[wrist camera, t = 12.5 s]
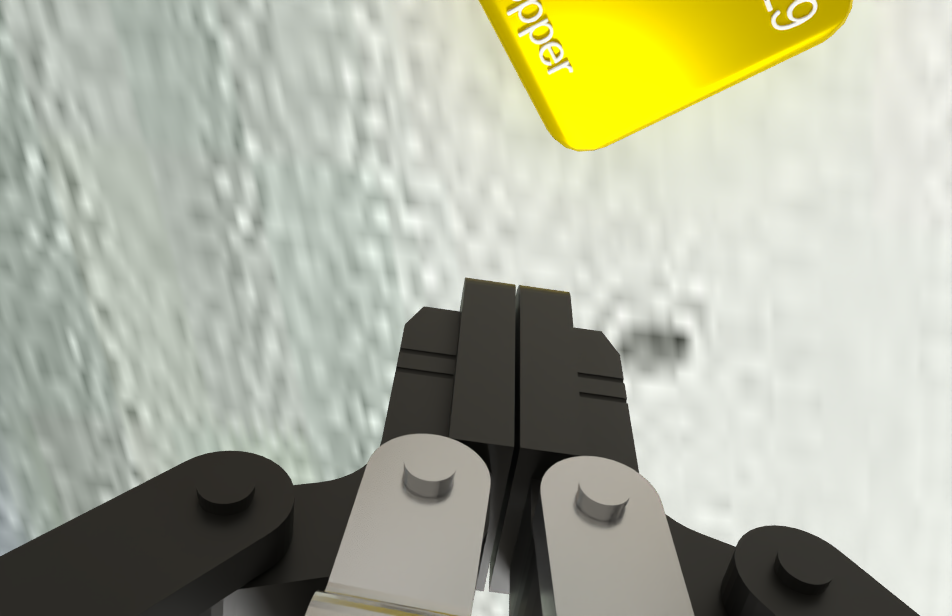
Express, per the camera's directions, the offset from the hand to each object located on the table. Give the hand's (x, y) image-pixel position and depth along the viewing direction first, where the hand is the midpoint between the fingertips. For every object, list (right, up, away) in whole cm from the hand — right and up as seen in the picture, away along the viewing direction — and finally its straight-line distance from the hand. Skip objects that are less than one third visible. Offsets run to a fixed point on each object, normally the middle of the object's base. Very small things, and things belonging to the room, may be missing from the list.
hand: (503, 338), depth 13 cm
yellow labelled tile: (+7, +18, +30) cm, 36 cm away
